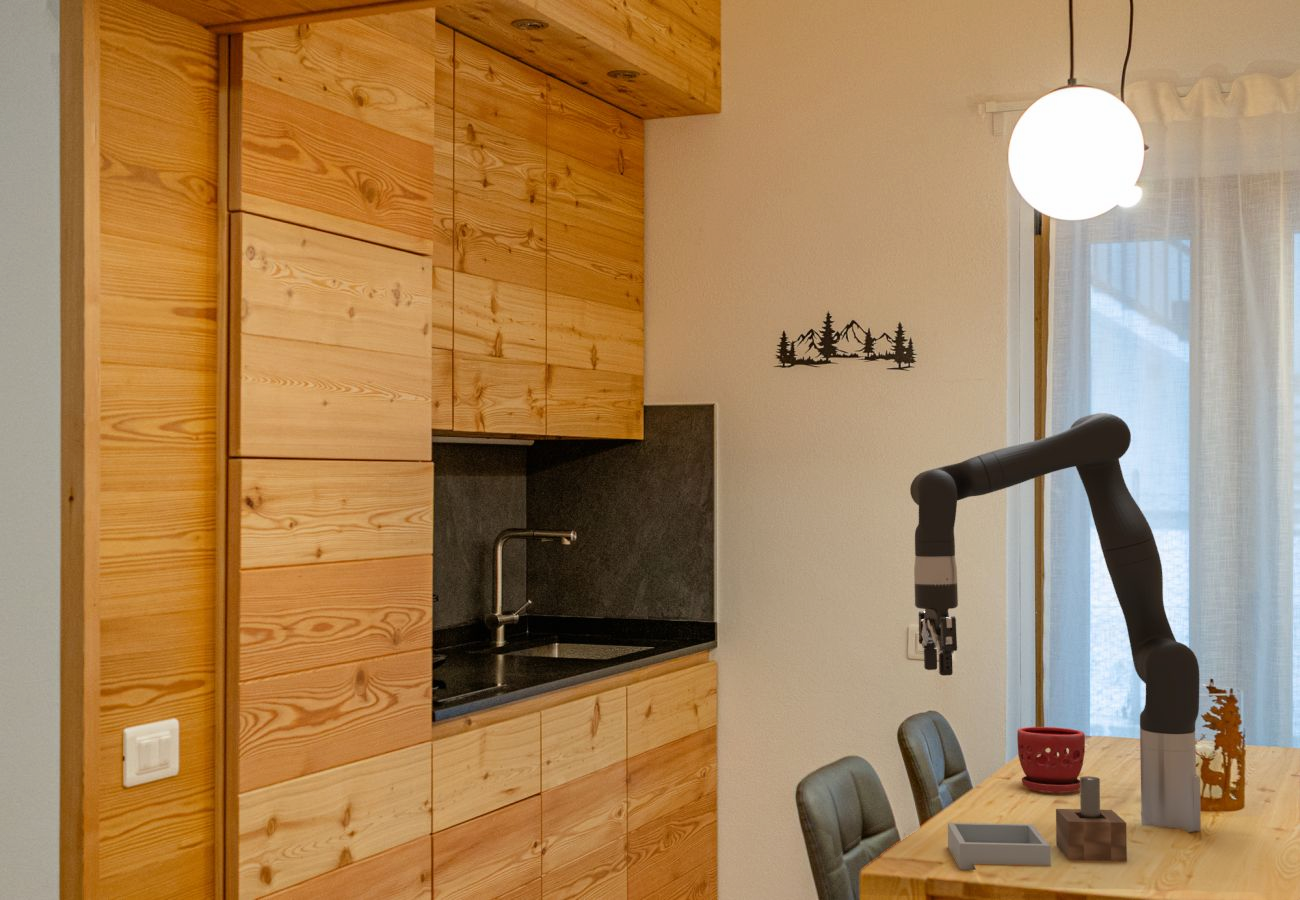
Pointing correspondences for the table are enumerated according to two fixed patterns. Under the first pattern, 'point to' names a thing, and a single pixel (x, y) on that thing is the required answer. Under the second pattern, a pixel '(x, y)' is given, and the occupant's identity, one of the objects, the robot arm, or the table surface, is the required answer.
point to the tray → (997, 844)
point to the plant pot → (1051, 758)
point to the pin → (1090, 797)
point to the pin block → (1091, 836)
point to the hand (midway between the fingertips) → (938, 672)
